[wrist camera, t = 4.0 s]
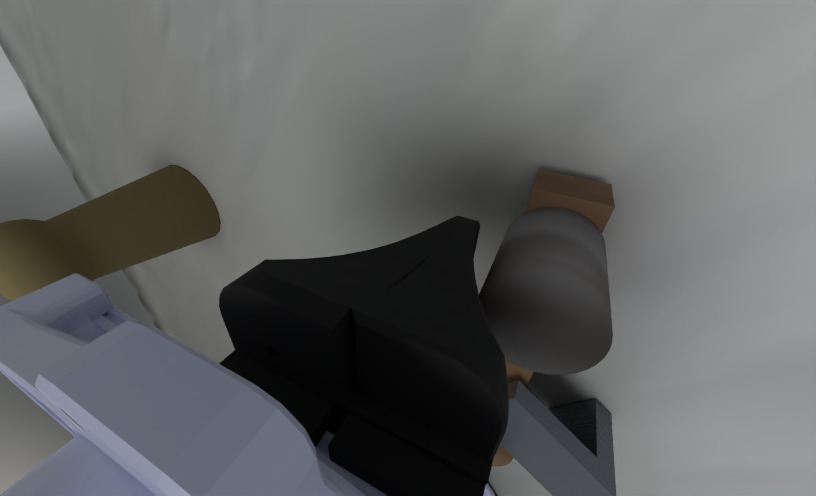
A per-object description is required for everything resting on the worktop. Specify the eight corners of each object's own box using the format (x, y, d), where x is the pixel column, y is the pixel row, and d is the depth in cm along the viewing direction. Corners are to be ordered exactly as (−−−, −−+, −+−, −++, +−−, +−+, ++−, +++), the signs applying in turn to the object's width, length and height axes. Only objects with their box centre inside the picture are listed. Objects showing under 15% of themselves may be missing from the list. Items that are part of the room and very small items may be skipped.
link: (508, 444, 21) (486, 556, 16) (446, 413, 22) (410, 508, 18) (643, 191, 11) (685, 300, 6) (512, 163, 12) (466, 235, 8)
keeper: (561, 422, 19) (556, 499, 16) (487, 348, 19) (466, 411, 15) (611, 413, 17) (616, 499, 14) (528, 331, 17) (514, 399, 13)
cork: (206, 174, 22) (-24, 253, 14) (228, 246, 26) (55, 343, 17) (151, 157, 24) (-79, 217, 16) (178, 225, 28) (1, 304, 19)
